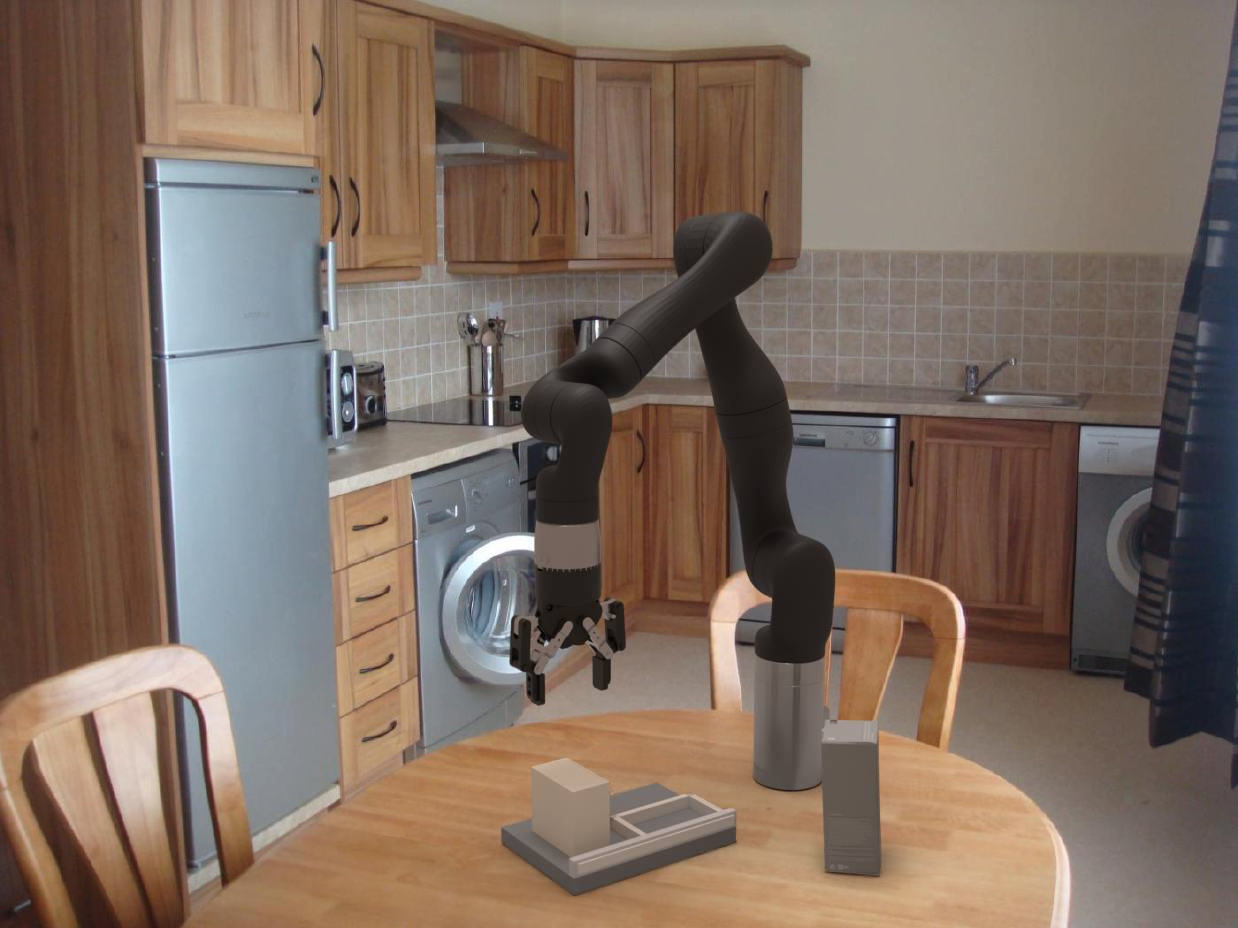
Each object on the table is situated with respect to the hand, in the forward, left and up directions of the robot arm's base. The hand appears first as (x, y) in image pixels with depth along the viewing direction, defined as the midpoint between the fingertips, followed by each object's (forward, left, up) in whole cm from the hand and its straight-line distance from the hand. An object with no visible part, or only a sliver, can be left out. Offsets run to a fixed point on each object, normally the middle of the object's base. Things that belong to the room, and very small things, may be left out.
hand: (569, 695), depth 156 cm
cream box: (0, 0, -18) cm, 18 cm away
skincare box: (-26, +20, -20) cm, 38 cm away
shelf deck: (-7, +1, -20) cm, 21 cm away
